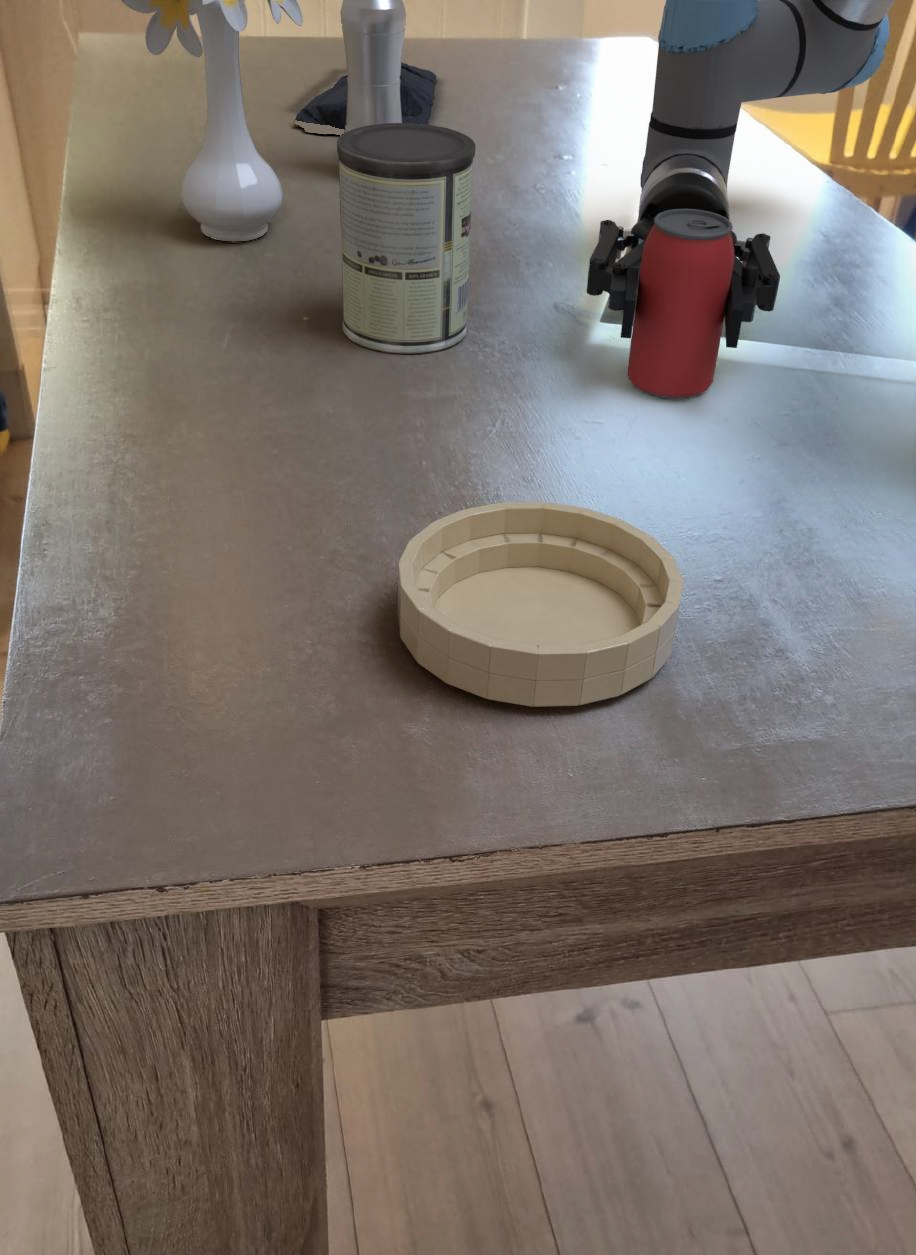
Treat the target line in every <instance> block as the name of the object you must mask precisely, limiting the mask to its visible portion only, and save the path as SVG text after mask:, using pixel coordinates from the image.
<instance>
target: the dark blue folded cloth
mask: <svg viewBox="0 0 916 1255" xmlns="http://www.w3.org/2000/svg"><path fill="white" fill-rule="evenodd" d="M347 78H348V74H345V75H342V76H341V77H340V78H339V79H338V80H337V81H336V82H337V83H336V82H335V83H336V84H335V83H334V84H335V85H334V84H333V85H334V87H333V88H331V87H330V88H327V90H325V91H324V92H321V93H320V94H318V95H316V96H315V97H313V99H311V100H310V101H309V102H308V103H307V104H305V105H304V107H303V108H301V109H300V111H299V112H297V114H296V115H295V119H294V121H295V120H297V121H302V122H306V123H314V124H320V125H330V126H332V127H335V128H339V129H344V130H345V126H346V124H347V123H346V117H347V98H348V82H347ZM437 84H438V79H437V75H436V73H434V72H433V71H431V70H428V69H424V68H420V67H417V66H413V65H409V64H408V63H405V62H402V61H401V75H400V100H401V115H402V123H414V124H425V125H429V120H430V118H431V116H432V110H433V109H432V107H433V106H434V100H435V97H436V96H435V90H436V85H437Z"/></svg>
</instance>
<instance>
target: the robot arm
mask: <svg viewBox="0 0 916 1255" xmlns="http://www.w3.org/2000/svg"><path fill="white" fill-rule="evenodd" d="M895 2H896V0H665V3H664V6H663V11H662V16H661V23H660V28H659V31H658V36H657V40H658V48H657V58H656V69H655V77H654V78H655V79H654V88H653V89H654V90H653V99H652V110H651V113H650V119H649V122H648V127H647V128H648V129H647V136H646V143H645V151H644V156H643V160H642V168H641V173H640V188H641V193H640V195H639V206H638V217H637V222H636V223H635V224H633V225H632V227H631V229H630V230H625V228H624V227H623V226H621V225H617V223H616V222H615V221H613V220H612V219H605V220H601V221H600V222H599V233H598V240H597V244H596V246H595V248H594V250H593V252H592V254H591V256H590V258H589V263H588V270H587V271H588V273H587V282H586V294H587V295H589V296H595V297H596V296H600V295H603V293H604V292H606V293H608V305H607V307H608V309H609V310H611V311H614V312H620V311H622V320H621V328H620V329H621V330H620V338H621V339H630V340H631V338H632V330H633V323H634V315H635V307H636V299H637V292H638V284H639V276H640V269H641V261H642V253H643V248H644V245H645V242H646V239H647V237H648V235H649V233H650V231H651V229H652V227H653V226H654V218H655V217H656V216H657V215H658V214H659V213H661V212H664V211H667V210H673V209H698V210H704V211H709V212H713V213H716V214H719V215H721V216H723V217H726V218H727V219H728V220H729V221H730V209H729V208H730V207H729V206H730V205H729V204H730V203H729V195H728V181H729V180H728V179H729V173H730V166H731V159H732V154H733V149H734V143H735V136H736V132H737V127H738V121H739V117H740V112H741V106H742V103H749V102H756V101H764V100H772V99H777V98H778V99H779V98H787V97H797V96H808V95H816V94H817V95H818V94H820V95H825V94H832V93H836V92H839V91H841V90H844V89H848V88H852V87H857V86H860V85H862V84H864V83H866V82H867V81H868V80H869V79H870V78H872V77H873V76H874V75H875V74H876V73H877V71H878V69H879V68H880V66H881V65H882V63H883V61H884V59H885V56H886V55H885V51H886V47H887V44H888V43H889V41H890V33H891V32H890V20H889V15H888V12H889V11H890V10H891V8H892V6H893V4H894V3H895ZM731 236H732V240H733V246H734V265H733V271H732V277H731V282H730V288H729V294H728V299H727V305H726V311H725V316H724V330H725V334H724V335H725V348H730V349H737V348H738V344H739V338H740V332H741V326H742V323H752V322H753V321H754V316H755V312H756V307H757V308H758V310H760V311H763V312H768V313H769V312H773V311H774V310H775V305H776V300H777V295H778V290H779V285H780V280H781V275H780V273H779V270H778V267H777V266H776V265H777V264H776V263H775V260H774V259H773V256H772V254H771V252H770V249H769V248H770V242H771V238H772V237H771V236H770V235H769V234H767V233H763V232H762V233H757V234H755V235H754V237H747V238H746V239H745V241H743V240H738V236H737V234H736V233H735V231H733V230H732V231H731ZM626 248H629V249H630V251H628V252H627V253H625V254H624V255H623V256H622V255H621V254H622V252H624V251H625V250H626ZM621 256H622V257H621Z"/></svg>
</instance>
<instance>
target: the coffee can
mask: <svg viewBox="0 0 916 1255" xmlns="http://www.w3.org/2000/svg"><path fill="white" fill-rule="evenodd" d="M336 151H337V154H338V181H339V185H338V186H339V214H340V216H339V217H340V221H339V222H340V244H341V248H340V250H341V251H340V252H341V282H342V284H341V285H342V290H341V291H342V294H341V295H342V316H343V317H342V318H343V320H342V331H343V334H344V335H345V336H346V337H347V338H348V339H349V340H350V341H351V342H354V343H355V344H357V345H359V346H362V347H364V348H366V349H369V350H374V351H377V352H378V351H380V352H381V353H382V352H383V353H390V354H404V355H405V354H407V355H408V354H409V355H410V354H412V355H413V354H424V353H433V352H438V351H442V350H444V349H448V348H451V347H453V346H456V345H458V344H459V343H460V342H461V341H463V340H464V339H465V337H466V335H467V333H468V300H469V299H468V298H469V296H468V295H469V276H470V274H469V273H470V272H469V271H470V252H471V251H470V250H471V246H470V245H471V223H472V222H471V221H472V195H473V194H472V193H473V168H474V165H473V164H474V158H475V155H476V143H475V141H474V140H473V139H472V138H471V137H470V136H468V135H466V134H464V133H463V132H460V131H457V130H454V129H451V128H448V127H444V126H437V125H435V124H434V125H432V124H427V125H425V124H414V123H385V124H375V125H368V126H364V127H359V128H356V129H353V130H350V131H348V132H346V133H344V134H342V135H341V136H338V137H337V140H336Z"/></svg>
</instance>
